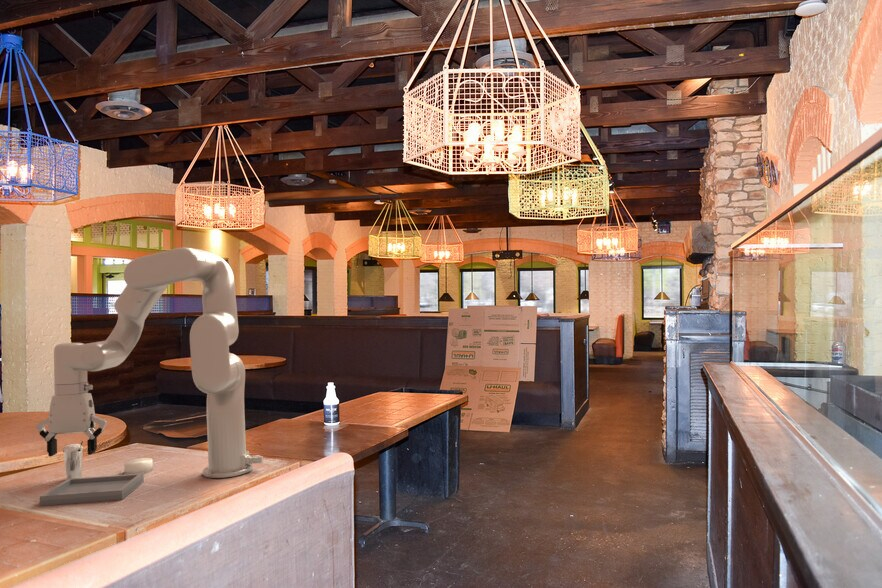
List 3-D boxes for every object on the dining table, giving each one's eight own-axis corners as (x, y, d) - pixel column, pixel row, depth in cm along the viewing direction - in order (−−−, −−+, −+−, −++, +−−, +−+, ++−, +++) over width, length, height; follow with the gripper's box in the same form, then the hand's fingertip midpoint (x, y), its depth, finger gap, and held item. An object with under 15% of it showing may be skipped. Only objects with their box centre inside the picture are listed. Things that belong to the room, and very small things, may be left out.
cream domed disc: (156, 467, 172) (156, 457, 172) (147, 474, 165) (147, 463, 165) (130, 469, 172) (129, 458, 172) (120, 476, 165) (119, 465, 165)
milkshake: (77, 481, 161) (75, 443, 161) (59, 481, 162) (58, 443, 162) (90, 476, 165) (89, 439, 165) (73, 476, 166) (71, 438, 166)
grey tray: (143, 481, 158) (143, 473, 158) (122, 499, 144) (122, 490, 144) (68, 487, 156) (68, 478, 156) (39, 505, 142) (39, 496, 142)
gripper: (111, 386, 168) (112, 449, 168) (43, 388, 166) (44, 452, 166) (99, 390, 161) (100, 456, 161) (28, 393, 159) (29, 459, 159)
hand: (72, 454), depth 164 cm, fingers open, 9 cm apart
